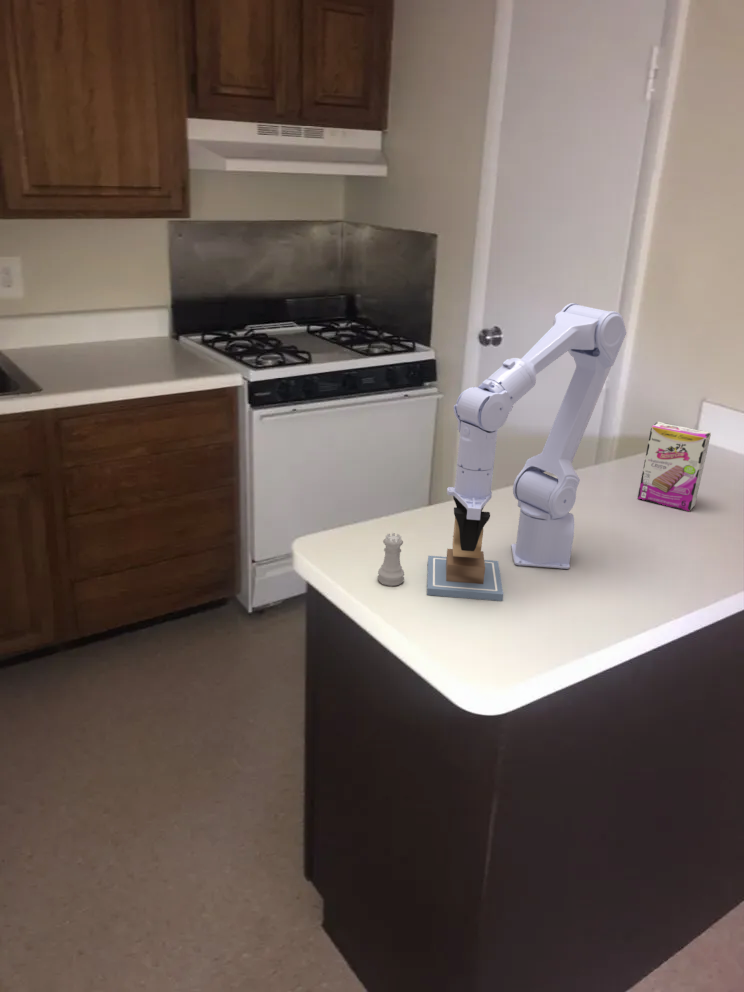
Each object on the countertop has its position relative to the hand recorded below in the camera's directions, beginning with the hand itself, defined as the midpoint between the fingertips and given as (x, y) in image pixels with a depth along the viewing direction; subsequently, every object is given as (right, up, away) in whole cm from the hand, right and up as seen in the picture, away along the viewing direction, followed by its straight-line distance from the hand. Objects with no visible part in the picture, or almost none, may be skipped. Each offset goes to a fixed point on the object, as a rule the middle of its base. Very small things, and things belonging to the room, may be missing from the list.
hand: (467, 543), depth 135 cm
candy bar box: (+47, +6, +40) cm, 62 cm away
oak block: (0, -1, +1) cm, 1 cm away
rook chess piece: (-12, -6, +1) cm, 14 cm away
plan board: (0, -6, +3) cm, 7 cm away
